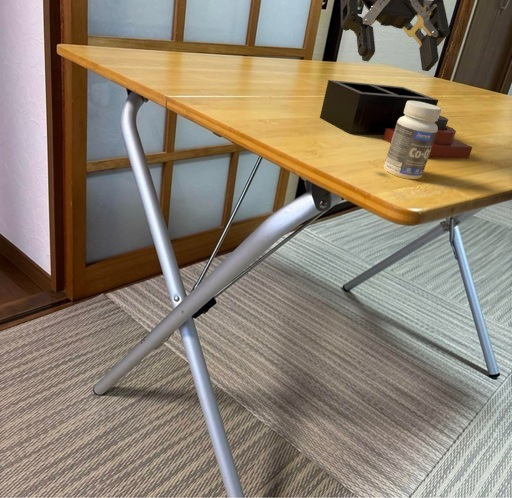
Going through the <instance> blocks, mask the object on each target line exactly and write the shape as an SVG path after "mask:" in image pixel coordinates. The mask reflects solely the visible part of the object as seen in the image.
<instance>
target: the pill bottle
mask: <svg viewBox="0 0 512 498" xmlns="http://www.w3.org/2000/svg"><path fill="white" fill-rule="evenodd" d="M441 112H442V108H441V107H439V106H438V105H437V106H435V105H431V104H427V103H423V102H418V101H407V103H406V106H405V109H404V114H405V115H404V116H402V117H400V118H399V119H398V121H397V124H396V128H395V131H394V134H393V137H392V141H391V143H390V145H389V148H388V151H387V155H386V158H385V161H384V163H383V164H384V165H383V169H384V170H385V171H386V172H387V173H389V174H390V175H393V176H395V177H398V178H400V179H406V180H419V179H421V178H423V177H422V176H423V174H424V171H425V168H426V166H427V162H428V160H429V158H428V157H429V154H430V151H431V148H432V145H433V142H434V140H435V137H436V134H437V131H438V127H437V125H436V124H435V122H436V121H438V119H439V116H441Z"/></svg>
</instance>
